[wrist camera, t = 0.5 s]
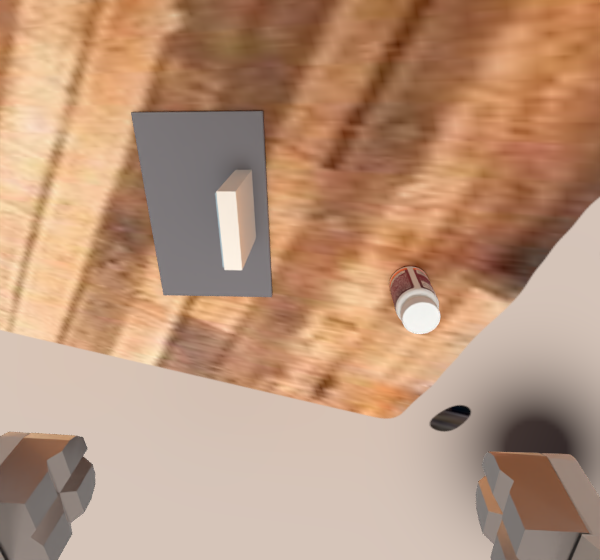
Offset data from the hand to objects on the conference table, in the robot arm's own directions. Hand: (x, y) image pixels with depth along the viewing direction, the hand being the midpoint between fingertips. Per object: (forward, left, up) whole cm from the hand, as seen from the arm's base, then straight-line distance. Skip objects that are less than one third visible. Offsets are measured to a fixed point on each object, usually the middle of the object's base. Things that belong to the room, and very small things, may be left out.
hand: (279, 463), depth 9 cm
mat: (+8, -13, -42) cm, 45 cm away
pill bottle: (+17, +11, -42) cm, 47 cm away
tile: (+7, -9, -42) cm, 43 cm away
